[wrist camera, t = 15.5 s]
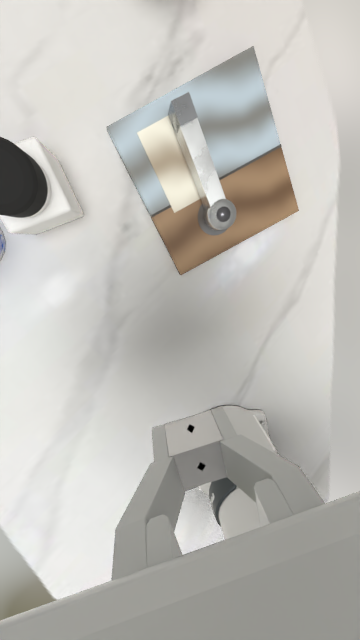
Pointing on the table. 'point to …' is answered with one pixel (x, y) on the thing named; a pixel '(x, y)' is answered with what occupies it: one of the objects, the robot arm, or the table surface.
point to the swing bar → (200, 164)
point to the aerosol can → (2, 244)
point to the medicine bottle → (33, 189)
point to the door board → (227, 155)
